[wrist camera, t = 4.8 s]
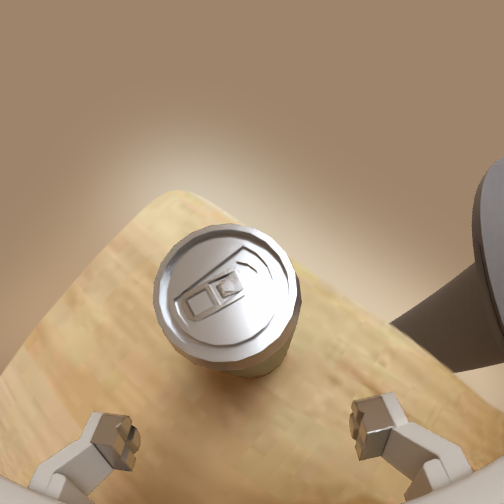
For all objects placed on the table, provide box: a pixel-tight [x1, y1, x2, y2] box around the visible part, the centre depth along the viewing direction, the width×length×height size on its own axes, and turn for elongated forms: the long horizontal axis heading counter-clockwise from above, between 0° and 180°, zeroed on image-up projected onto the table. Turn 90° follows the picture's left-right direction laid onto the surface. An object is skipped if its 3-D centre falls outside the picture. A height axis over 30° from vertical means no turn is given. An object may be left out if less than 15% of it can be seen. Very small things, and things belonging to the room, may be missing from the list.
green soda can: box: [153, 224, 302, 378], centre depth 15 cm, size 5×5×12 cm
